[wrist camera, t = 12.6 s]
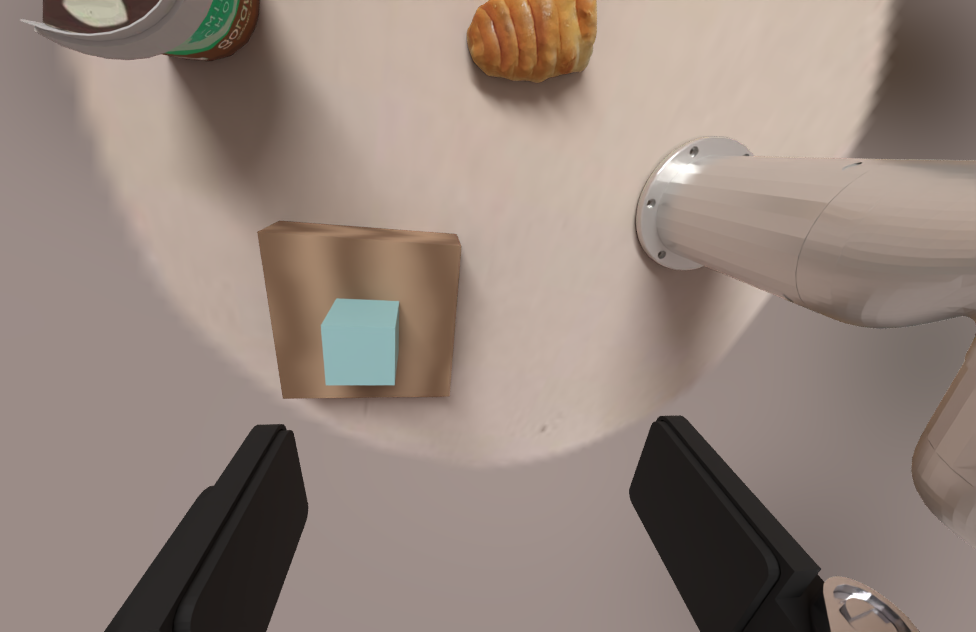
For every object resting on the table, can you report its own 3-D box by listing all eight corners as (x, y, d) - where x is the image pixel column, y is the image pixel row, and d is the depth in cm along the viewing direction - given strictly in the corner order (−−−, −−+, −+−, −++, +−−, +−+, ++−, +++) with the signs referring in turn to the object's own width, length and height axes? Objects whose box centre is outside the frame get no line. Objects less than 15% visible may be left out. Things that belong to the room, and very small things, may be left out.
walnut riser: (456, 234, 33) (461, 245, 29) (446, 370, 39) (449, 396, 35) (279, 220, 30) (257, 231, 26) (298, 370, 36) (282, 398, 32)
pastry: (478, 101, 29) (485, 94, 26) (454, -3, 26) (459, -27, 23) (587, 71, 29) (608, 60, 26) (576, -35, 26) (598, -63, 23)
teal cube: (399, 301, 30) (395, 327, 26) (398, 352, 32) (394, 385, 28) (336, 298, 29) (320, 325, 25) (339, 351, 31) (325, 385, 27)
